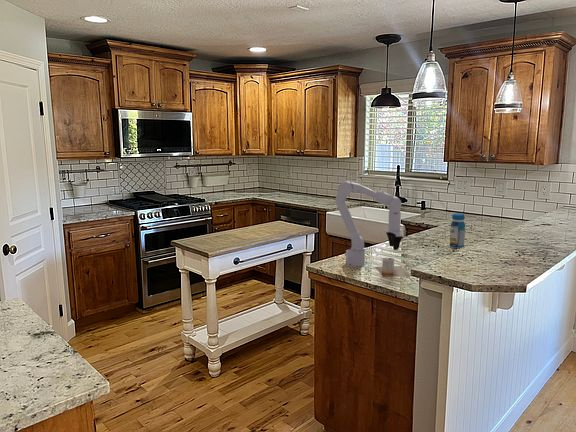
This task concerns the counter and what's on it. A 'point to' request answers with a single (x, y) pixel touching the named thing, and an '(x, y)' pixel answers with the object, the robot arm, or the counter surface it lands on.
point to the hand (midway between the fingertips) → (393, 247)
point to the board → (397, 272)
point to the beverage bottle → (457, 231)
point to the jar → (387, 272)
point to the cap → (388, 264)
